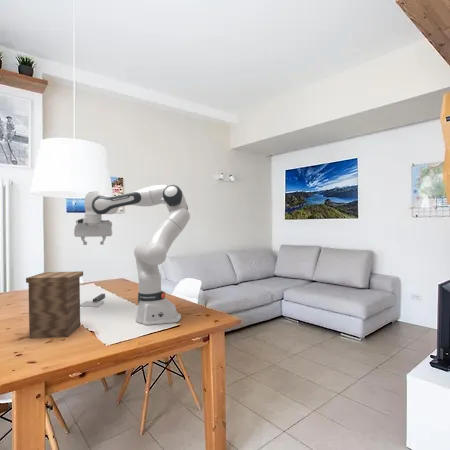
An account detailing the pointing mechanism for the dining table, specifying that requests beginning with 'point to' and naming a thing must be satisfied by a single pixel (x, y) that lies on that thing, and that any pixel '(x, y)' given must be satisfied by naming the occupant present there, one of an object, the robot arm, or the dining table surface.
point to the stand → (54, 304)
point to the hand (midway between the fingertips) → (93, 244)
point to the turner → (94, 302)
